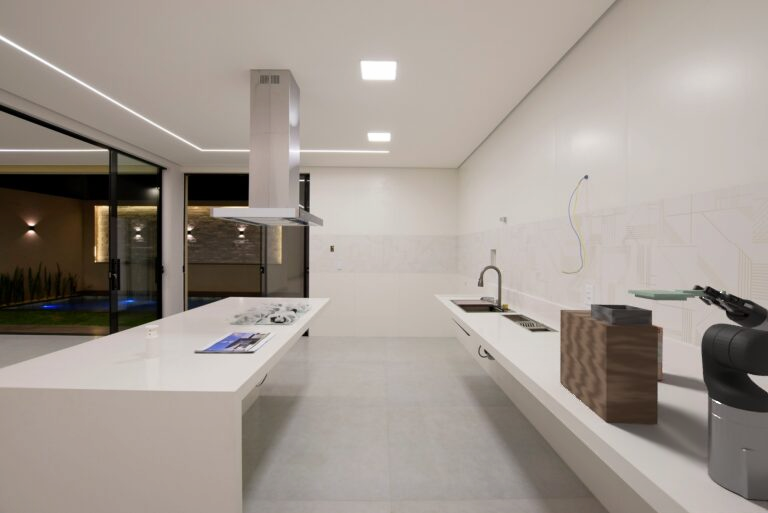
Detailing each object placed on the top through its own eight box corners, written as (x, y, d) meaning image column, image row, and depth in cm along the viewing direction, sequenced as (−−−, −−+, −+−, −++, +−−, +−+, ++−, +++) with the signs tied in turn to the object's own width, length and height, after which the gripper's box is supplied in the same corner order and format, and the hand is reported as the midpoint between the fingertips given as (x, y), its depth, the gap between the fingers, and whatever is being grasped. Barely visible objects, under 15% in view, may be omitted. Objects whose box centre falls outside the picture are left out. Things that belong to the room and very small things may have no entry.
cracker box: (663, 381, 123) (663, 327, 123) (646, 379, 124) (646, 326, 124) (642, 368, 137) (642, 320, 137) (626, 367, 138) (626, 319, 138)
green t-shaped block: (740, 301, 90) (740, 292, 90) (654, 300, 92) (654, 291, 92) (704, 296, 101) (704, 288, 101) (628, 296, 103) (628, 288, 103)
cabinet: (657, 424, 90) (657, 311, 91) (606, 422, 92) (606, 310, 92) (599, 385, 118) (599, 298, 119) (560, 383, 120) (560, 298, 120)
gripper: (736, 303, 102) (686, 276, 103) (788, 310, 88) (729, 279, 89) (723, 323, 102) (673, 296, 103) (773, 333, 88) (715, 302, 89)
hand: (700, 288), depth 96 cm, fingers closed on green t-shaped block, 3 cm apart
